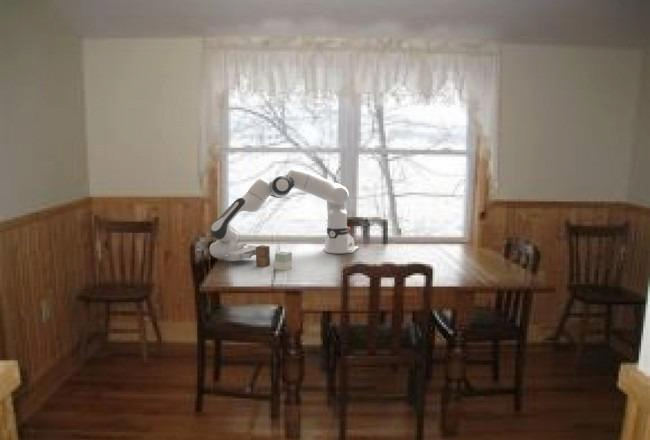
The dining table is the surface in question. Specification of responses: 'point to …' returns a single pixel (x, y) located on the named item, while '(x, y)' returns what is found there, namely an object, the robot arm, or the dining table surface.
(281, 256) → the tower mid
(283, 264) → the tower base
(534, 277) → the dining table surface
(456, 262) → the dining table surface
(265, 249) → the walnut pillar
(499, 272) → the dining table surface
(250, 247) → the robot arm
